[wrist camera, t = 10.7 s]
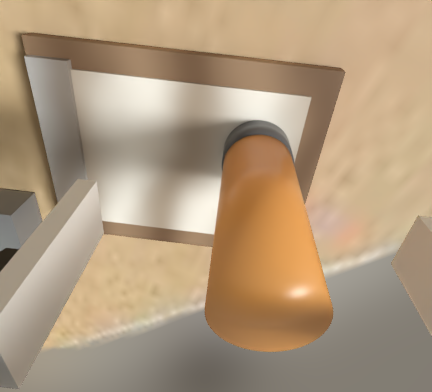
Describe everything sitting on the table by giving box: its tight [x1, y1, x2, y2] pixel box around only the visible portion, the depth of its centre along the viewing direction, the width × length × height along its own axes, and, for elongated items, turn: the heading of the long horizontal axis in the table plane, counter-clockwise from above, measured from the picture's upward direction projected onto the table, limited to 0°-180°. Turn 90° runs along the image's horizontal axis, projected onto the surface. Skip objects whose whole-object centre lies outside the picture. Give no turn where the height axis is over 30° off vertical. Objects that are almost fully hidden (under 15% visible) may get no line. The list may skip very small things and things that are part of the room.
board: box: [21, 33, 345, 247], centre depth 21 cm, size 18×14×2 cm
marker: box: [205, 120, 333, 352], centre depth 15 cm, size 4×4×12 cm
